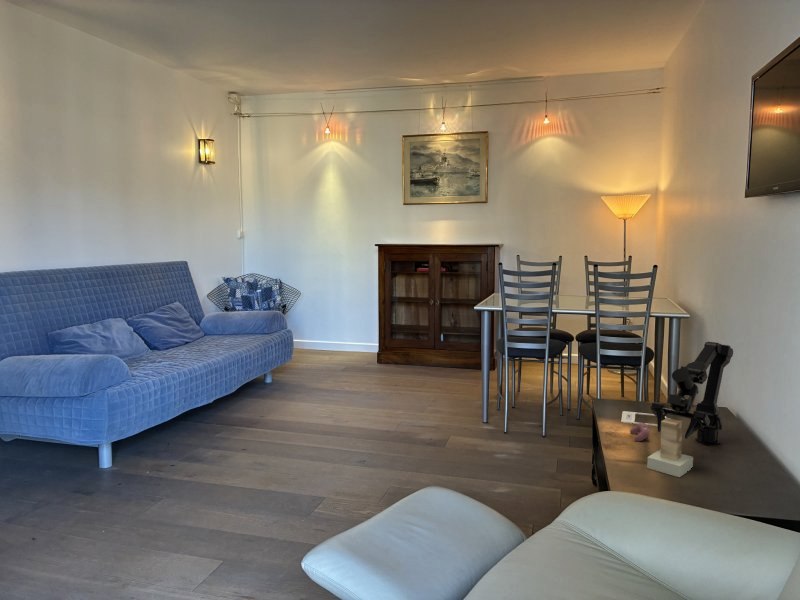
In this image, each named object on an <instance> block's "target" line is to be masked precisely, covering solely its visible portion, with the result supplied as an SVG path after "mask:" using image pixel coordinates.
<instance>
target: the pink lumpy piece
mask: <svg viewBox="0 0 800 600" xmlns="http://www.w3.org/2000/svg"><path fill="white" fill-rule="evenodd" d="M638 423H639V424H635V426H633V427H632V428H631V429H630V430H629V432H630V434H631V435H635V434H637V435H635V437H634V441H635V442H642V441H643V440H645V439H646V438H647V437H648V436H650V434H651V430H650V429H649V425H647V424H648V423H647V424H645V423H646V422H645V423H644V422H638Z"/></svg>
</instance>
